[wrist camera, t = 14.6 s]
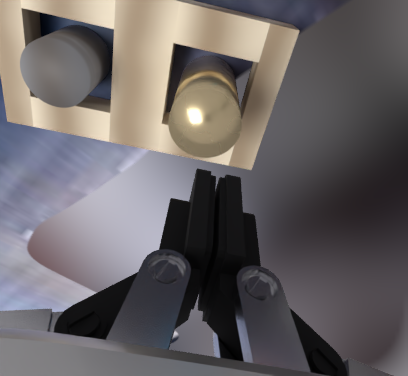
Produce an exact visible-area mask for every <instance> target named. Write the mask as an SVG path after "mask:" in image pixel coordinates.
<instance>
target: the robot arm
mask: <svg viewBox="0 0 408 376" xmlns="http://www.w3.org/2000/svg"><path fill="white" fill-rule="evenodd" d="M215 185H216V176H212V175H211V171H207V170H202V169H197V170H196V174H195V179H194V183H193V187H192V192H191V196H190V200H189V202H188V201H183V200H178V199H173V198H171V199H170V203H169V208H168V212H167V217H166V221H165V226H164V230H163V235H162V239H161V244H160V248H159V250H157V251H154V252H152V253H151V254H149V255H147V257H146V258H145V260H144V261H143V263H142V266H141V267H140V269H139V272H137V273H135V274H133V275H132V276H129V277H128V278H126V279H124V280H122V281H120V282H118V283H116V284H114V285H112V286H110V287H108V288H106V289H104V290H102V291H100V292H98V293H96V294H94V295H92V296H90V297H88V298H86V299H84V300H82V301H80V302H78V303H76V304H75V305H73V306H71V307H69V308H68V309H67V310H65V311H64V312H52V309H35V310H14V311H0V376H392V375H390V374H387V373H385V372H382V371H380V370H377V369H375V368H372V367H370V366H367V365H365V364H362V363H360V362H357V361H355V360H352V359H350V358H348V359H347V360H346V361H345V360H343V359H341V357H340V356H339V355H338V354H337V352H336V351H335V350H334V349H333V348H332V347H331V346H330V345H329V344H328V343H327V342H326V341H324V340H323V339H322V338H321V337H320V336H319V335H318V334H317V333H316V332H315V331H314V330H313V329H312V328H311V327H310V326H309V325H307V324H306V323H305V322H304V321H303V320H302V319H301V318H300V317H299V316H298V315H297V314H296V313H295V312H294V311H292V310H291V309H290V308H289V305H288V303H287V300H286V297H285V293H284V290H283V288H282V285H281V283H280V281H279V279H278V278H277V277H276V276H275V275H274V274H273V273H272V272H271V271H269V270H268V269H265V268H263V267H261V265H260V256H259V247H258V238H257V230H256V221H255V216H254V215H253V214H249V213H243V207H242V192H241V179H240V177H236V176H231V175H226V176H225V178H222V177H220V178H219V181H218V184H217V188H216V191H215ZM198 294H199V300H198V310H199V311H203V321H205V322H207V324H208V325H209V326H210V327H211V328H212V330H213V331H214V333H213V344H214V353H215V357H212V356H205V355H199V354H192V353H186V352H180V351H173V350H169V347H170V344H171V341H172V337H173V334H174V330H175V329H176V328H177V327H178V326H180V325H181V324H183V323H184V322H186V321H187V320H188V318H189V314H190V311H191V309H194V306H195V303H196V300H197V297H198Z"/></svg>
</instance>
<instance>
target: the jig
mask: <svg viewBox="0 0 408 376" xmlns="http://www.w3.org/2000/svg"><path fill="white" fill-rule="evenodd" d="M39 12H41V13H46V14H50V15H54V16H59V17H63V18H67V19H72V20H76V21H80V22H85V23H89V24H93V25H98V26H102V27H106V28H111V29H114V43H113V65H112V87H111V100H108V99H103V98H99V97H94V96H89V95H88V94H89V93H90V92H91V91H92V90H93V89H94V88H95V87H96V86H97V85H98V84H99V83H100V82H101V81H102V80H103V79H104V78H105V77H106V75H107V74H108V71H109V68H110V55H109V51H108V48H107V46H106V44H105V43H104V41H103V40H102V39H101V37H100V36H99V35H98V34H96V33H95V32H94V31H92V30H91V29H89V28H87V27H84V26H80V25H71V26H67V27H64V28H62V29H60V30H57V31H55V32H53V33H50V34H48V35H46V36H43V37H41V27H40V14H39ZM299 31H300V30H298V29H297V28H296V27H295V26H293V25H292V24H288V23H284V22H280V21H276V20H271V19H267V18H263V17H259V16H255V15H251V14H247V13H243V12H239V11H235V10H230V9H226V8H222V7H218V6H214V5H210V4H206V3H202V2H198V1H194V0H0V75H1V81H2V88H3V95H4V101H5V108H6V115H7V121H8V122H13V123H18V124H23V125H28V126H33V127H38V128H43V129H48V130H53V131H58V132H63V133H68V134H73V135H78V136H83V137H88V138H93V139H98V140H103V141H108V142H113V143H118V144H123V145H128V146H133V147H138V148H143V149H148V150H153V151H158V152H164V153H168V154H173V155H179V156H184V157H188V158H194V159H198V160H203V161H208V162H213V163H218V164H223V165H228V166H233V167H238V168H243V169H248V170H251V169H252V166H253V164H254V161H255V158H256V155H257V152H258V149H259V146H260V144H261V141H262V138H263V135H264V132H265V129H266V126H267V123H268V121H269V118H270V115H271V112H272V109H273V106H274V103H275V100H276V98H277V95H278V91H279V89H280V86H281V83H282V80H283V77H284V74H285V72H286V68H287V66H288V63H289V60H290V57H291V54H292V51H293V48H294V46H295V43H296V40H297V37H298V34H299ZM176 44H180V45H184V46H189V47H193V48H197V49H202V50H206V51H210V52H215V53H219V54H223V55H228V56H232V57H236V58H241V59H245V60H249V61H253V64H252V68H251V71H250V75H249V79H248V82H247V85H246V89H245V93H244V96H243V99H242V103H241V107H240V113H241V119H242V129H241V133H240V136H239V138H238V140H237V142H236V143H235V144H234V146H233V147H232V148H231V149H229V150H228V151H227V152H225V153H223V154H221V155H219V156H216V157H211V158H200V157H195V156H192V155H190V154H188V153H186V152H184V151H183V150H181V149H180V148H179V147H178V146H177V145H176V144H175V142H174V141H173V139H172V137H171V135H170V132H169V127H168V120H169V114H170V112H166V108H167V101H168V94H169V88H170V81H171V74H172V67H173V61H174V54H175V47H176Z"/></svg>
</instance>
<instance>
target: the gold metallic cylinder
mask: <svg viewBox="0 0 408 376" xmlns="http://www.w3.org/2000/svg"><path fill="white" fill-rule="evenodd" d="M168 127H169V132H170V135H171V137H172V139H173V141H174V142H175V144H176V145H177V146H178V147H179V148H180V149H181V150H183V151H184V152H186V153H188V154H190V155H192V156H195V157H200V158H211V157H216V156H219V155H221V154H223V153H225V152H227V151H228V150H229V149H231V148H232V147H233V146H234V144H235V143H236V142H237V140H238V138H239V136H240V133H241V129H242V119H241V113H240V106H239V100H238V93H237V87H236V80H235V76H234V73H233V71H232V69H231V67H230V66H229V65H228V64H227V63H226V62H225V61H224V60H222V59H220V58H218V57H215V56H202V57H198V58H196V59H194V60H193V61H191V62H190V63H189V64H188V65H187V66H186V68H185V69H184V71H183V74H182V76H181V80H180V83H179V86H178V89H177V92H176V95H175V99H174V102H173V105H172V108H171V111H170V114H169V120H168Z"/></svg>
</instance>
